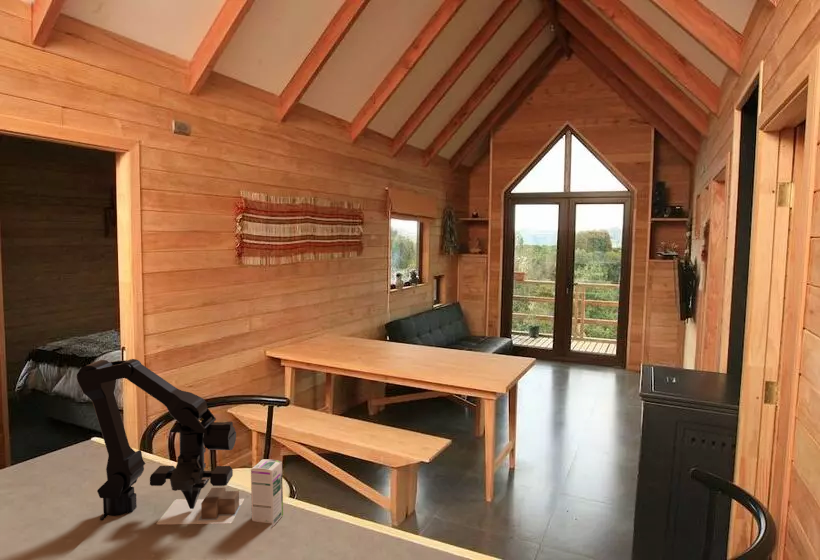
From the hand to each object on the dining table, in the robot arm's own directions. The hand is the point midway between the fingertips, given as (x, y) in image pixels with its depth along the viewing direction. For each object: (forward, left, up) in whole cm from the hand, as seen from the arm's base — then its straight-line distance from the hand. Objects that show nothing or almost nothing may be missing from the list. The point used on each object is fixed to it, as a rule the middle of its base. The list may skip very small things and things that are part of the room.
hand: (192, 508), depth 132 cm
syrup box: (+19, -3, -2) cm, 20 cm away
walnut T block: (+7, 0, -1) cm, 7 cm away
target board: (+2, 0, -2) cm, 3 cm away
